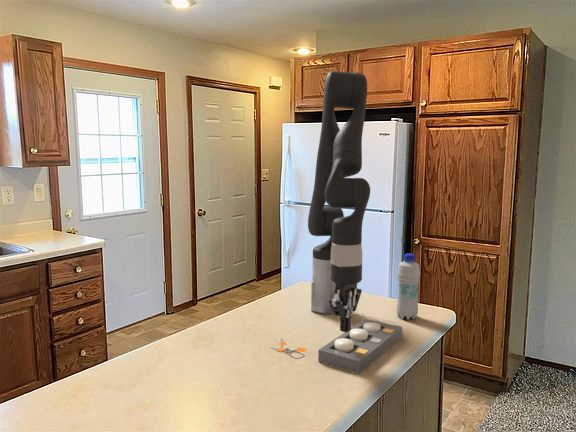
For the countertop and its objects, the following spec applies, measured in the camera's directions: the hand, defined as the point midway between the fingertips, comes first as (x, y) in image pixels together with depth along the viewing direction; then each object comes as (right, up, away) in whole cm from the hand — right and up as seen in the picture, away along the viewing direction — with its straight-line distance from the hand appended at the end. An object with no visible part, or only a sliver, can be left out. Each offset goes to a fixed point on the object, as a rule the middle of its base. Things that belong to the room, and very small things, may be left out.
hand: (345, 331), depth 117 cm
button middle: (+4, -4, +7) cm, 9 cm away
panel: (+5, -6, +7) cm, 11 cm away
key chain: (-14, -7, +7) cm, 17 cm away
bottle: (+22, -3, +30) cm, 38 cm away
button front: (0, -5, +1) cm, 5 cm away
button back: (+9, -4, +14) cm, 17 cm away
